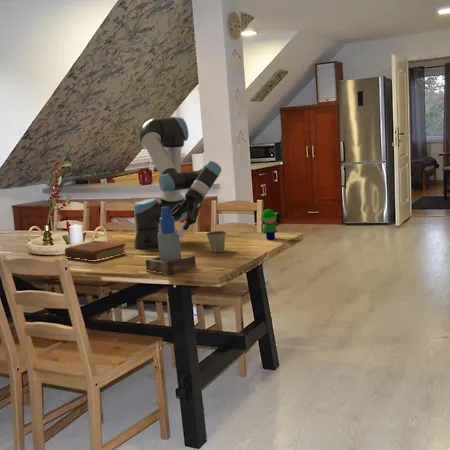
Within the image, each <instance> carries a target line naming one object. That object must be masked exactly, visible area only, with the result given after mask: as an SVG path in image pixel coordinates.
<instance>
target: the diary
mask: <svg viewBox="0 0 450 450" xmlns="http://www.w3.org/2000/svg"><path fill="white" fill-rule="evenodd" d="M125 246H126V243H122V242H113V241H104V240H103V241H102V240H92V241H88V242H85V243H80V244H77V245H72V246H69V247H66V248H65V249H64V253H65V257H66V256H67V257H71V258H80V259H87V260H97V259H102V258H106V257H110V256H115V255H118V254H122V253H126V252H125Z"/></svg>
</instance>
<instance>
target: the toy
mask: <svg viewBox="0 0 450 450" xmlns="http://www.w3.org/2000/svg"><path fill="white" fill-rule="evenodd" d="M261 214H262V216H261V217H260V220H263V222H264V225H263V231H262V233H263V234H265V237H266V238H267V239H266V240H268V241H274V240H273V239H275V240H276V233H277V232H278V230H277V227H276V224H275V223H277V224H280V223H281V222H280V221H281V220H280V214H279V213H278V212H274V210H272V209H270V208H267V209H264V210H263V212H262V213H261Z"/></svg>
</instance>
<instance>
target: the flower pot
mask: <svg viewBox="0 0 450 450" xmlns="http://www.w3.org/2000/svg"><path fill="white" fill-rule="evenodd" d="M206 236H207V238H208V242H209V247H210V252H212V253H217V252H219V253H222V252H224V251H225V244H226V236H227V231H224V230H217V231H215V230H213V231H210V232H207V233H206Z"/></svg>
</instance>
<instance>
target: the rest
mask: <svg viewBox="0 0 450 450" xmlns="http://www.w3.org/2000/svg"><path fill="white" fill-rule="evenodd" d="M196 264H197V263H196V256H195V255H189V256H186V257H183V258H182V257H181V259H179V260H176V261H172V262H167V261H160V256H159V255H158V256H155V257H152V258H148V259H145V267H146V271H147V270H150V271H156V272H162V273H166V274H165V275H168V274H170V275H169V276H172V274H173V275H175V273H176V274H178V273H182V272H185V271H189V270H191V269H194V268H196V267H197V265H196ZM156 272H155V273H156ZM162 273H161V274H162Z"/></svg>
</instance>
